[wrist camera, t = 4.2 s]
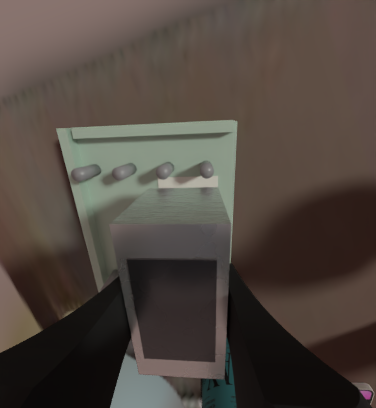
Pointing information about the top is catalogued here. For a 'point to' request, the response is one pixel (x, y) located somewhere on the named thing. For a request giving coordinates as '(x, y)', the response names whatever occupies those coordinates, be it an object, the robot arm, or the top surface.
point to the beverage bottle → (220, 387)
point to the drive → (176, 280)
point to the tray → (141, 173)
